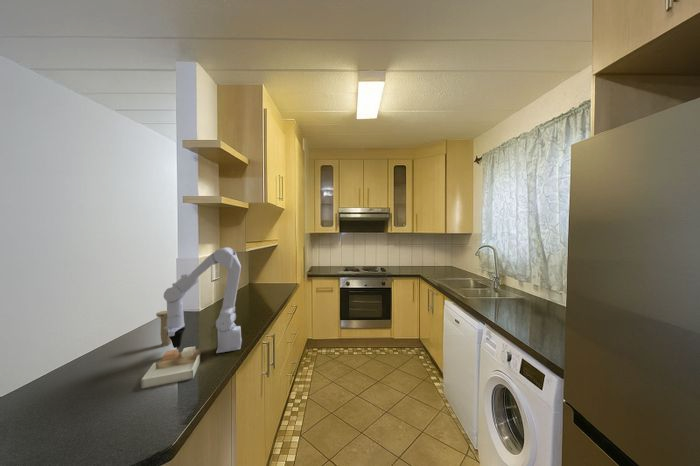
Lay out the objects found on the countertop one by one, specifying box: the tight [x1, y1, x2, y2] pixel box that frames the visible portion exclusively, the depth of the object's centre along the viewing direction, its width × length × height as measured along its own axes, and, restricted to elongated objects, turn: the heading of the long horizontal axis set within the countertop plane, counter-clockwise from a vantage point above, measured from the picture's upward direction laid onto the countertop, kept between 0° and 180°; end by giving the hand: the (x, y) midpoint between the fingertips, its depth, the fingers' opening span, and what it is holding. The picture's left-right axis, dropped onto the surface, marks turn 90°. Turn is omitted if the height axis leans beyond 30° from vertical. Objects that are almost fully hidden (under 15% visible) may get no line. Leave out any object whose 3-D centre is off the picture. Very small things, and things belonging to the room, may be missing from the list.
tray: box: [140, 355, 201, 390], centre depth 94 cm, size 15×12×3 cm
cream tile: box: [180, 346, 196, 357], centre depth 104 cm, size 4×4×2 cm
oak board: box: [156, 348, 202, 369], centre depth 103 cm, size 13×7×2 cm, turn 110°
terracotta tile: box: [162, 348, 179, 361], centre depth 102 cm, size 4×4×2 cm
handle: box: [155, 310, 172, 347], centre depth 119 cm, size 5×6×15 cm
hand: (177, 346), depth 110 cm, fingers closed
